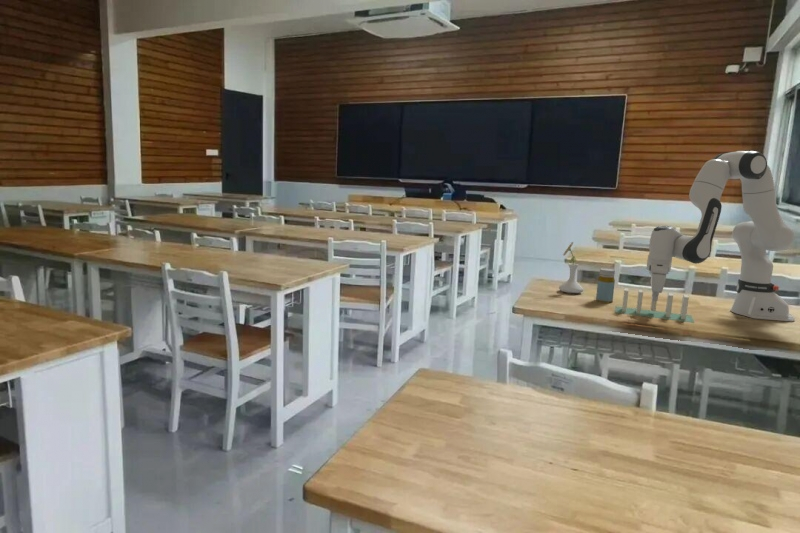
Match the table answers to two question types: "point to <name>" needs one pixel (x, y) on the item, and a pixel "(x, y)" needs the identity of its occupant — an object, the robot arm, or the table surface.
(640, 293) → the domino
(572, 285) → the flower in vase
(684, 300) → the domino
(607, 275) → the bottle
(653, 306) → the domino
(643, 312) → the felt runner
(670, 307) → the domino
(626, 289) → the domino end
